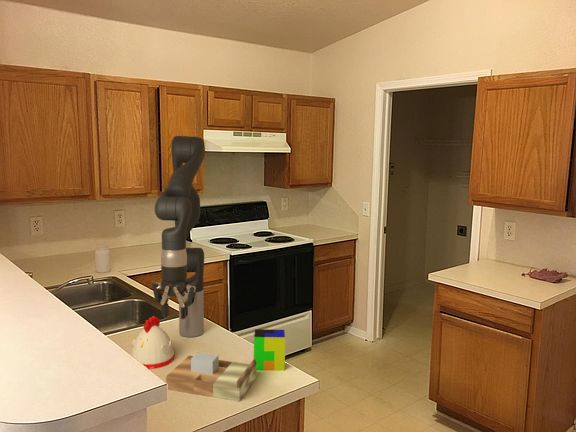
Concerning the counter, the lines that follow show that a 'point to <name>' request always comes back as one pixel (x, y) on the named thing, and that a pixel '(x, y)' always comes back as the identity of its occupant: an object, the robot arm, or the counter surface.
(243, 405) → the counter surface
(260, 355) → the puzzle toy
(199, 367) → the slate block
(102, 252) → the pill bottle
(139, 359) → the kitchen timer
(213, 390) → the board
